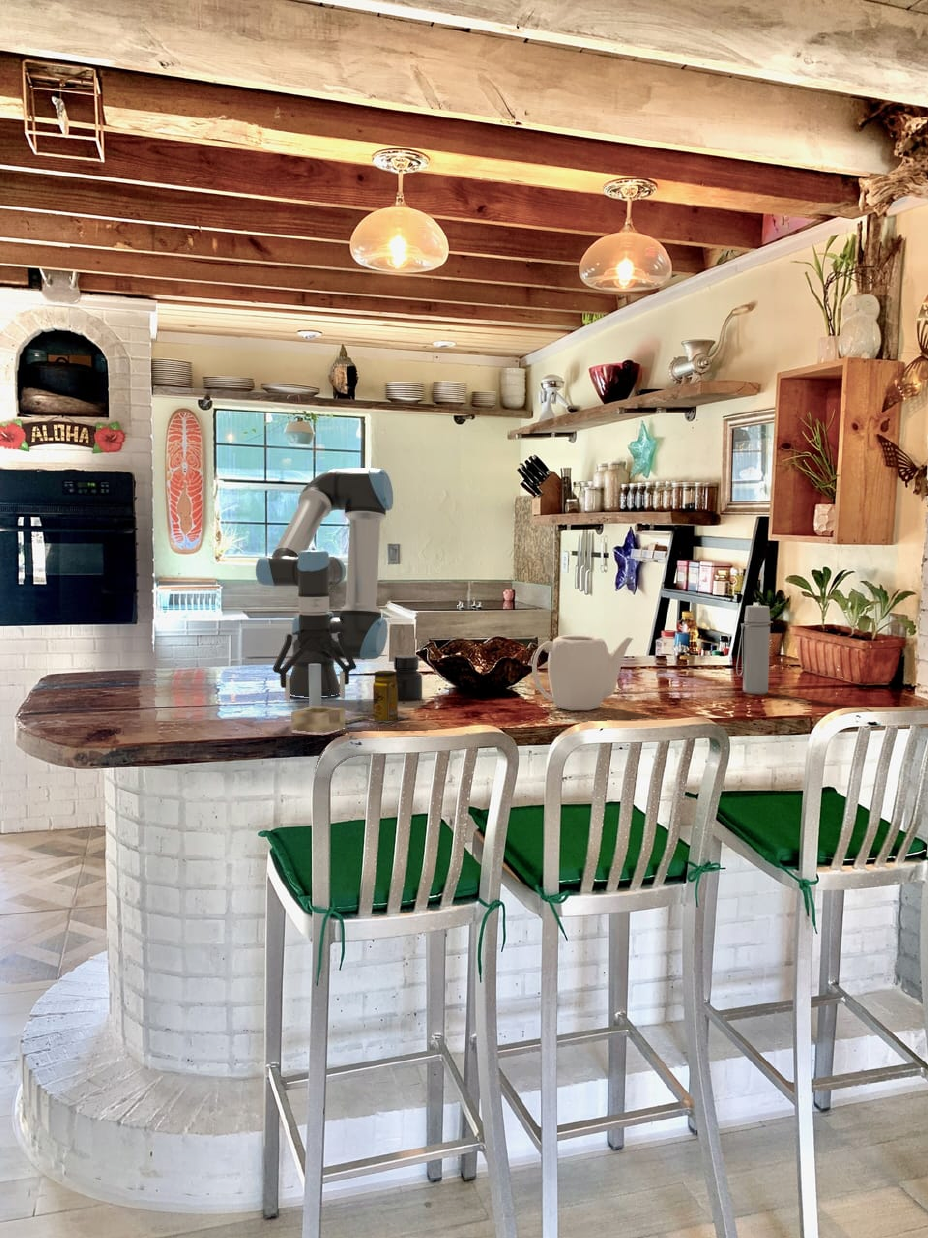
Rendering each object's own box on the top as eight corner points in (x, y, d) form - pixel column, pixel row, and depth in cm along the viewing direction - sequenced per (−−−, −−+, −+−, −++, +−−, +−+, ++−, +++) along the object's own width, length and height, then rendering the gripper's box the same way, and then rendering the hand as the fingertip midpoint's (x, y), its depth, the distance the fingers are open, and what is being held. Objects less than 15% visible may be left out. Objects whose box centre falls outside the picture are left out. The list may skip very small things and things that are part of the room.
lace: (337, 726, 232) (337, 722, 232) (334, 725, 232) (334, 722, 232) (366, 719, 240) (365, 716, 240) (363, 718, 240) (363, 715, 240)
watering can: (637, 713, 248) (639, 640, 246) (534, 713, 248) (535, 640, 246) (626, 702, 264) (627, 633, 262) (529, 702, 263) (529, 633, 261)
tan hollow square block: (291, 733, 224) (291, 711, 223) (314, 725, 232) (313, 705, 231) (323, 737, 220) (323, 715, 219) (345, 729, 228) (345, 708, 227)
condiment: (366, 719, 240) (365, 672, 238) (390, 714, 246) (389, 668, 245) (387, 723, 235) (386, 675, 234) (410, 718, 241) (410, 671, 240)
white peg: (307, 721, 238) (306, 664, 236) (314, 718, 240) (313, 663, 239) (317, 722, 236) (316, 665, 235) (324, 720, 239) (323, 664, 238)
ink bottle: (395, 695, 274) (395, 653, 273) (425, 696, 272) (425, 654, 271) (386, 701, 264) (385, 658, 263) (417, 702, 262) (417, 659, 261)
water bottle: (765, 690, 282) (768, 605, 279) (771, 695, 274) (774, 607, 272) (733, 690, 283) (735, 605, 280) (738, 694, 275) (740, 607, 273)
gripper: (264, 616, 228) (265, 704, 230) (367, 613, 236) (368, 699, 238) (260, 613, 235) (262, 699, 237) (360, 610, 243) (361, 694, 245)
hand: (315, 699), depth 238 cm, fingers open, 13 cm apart
